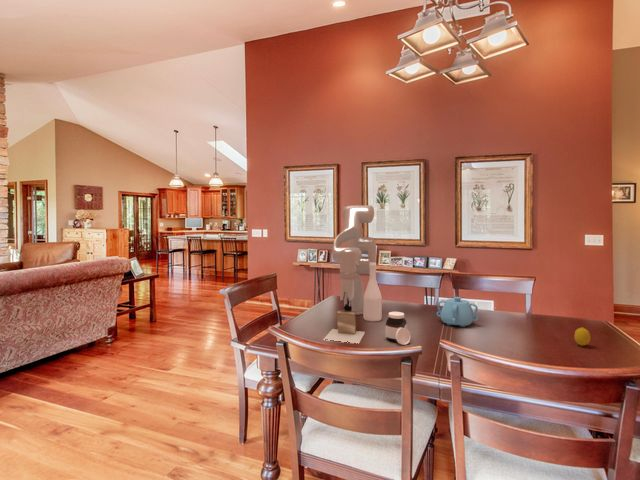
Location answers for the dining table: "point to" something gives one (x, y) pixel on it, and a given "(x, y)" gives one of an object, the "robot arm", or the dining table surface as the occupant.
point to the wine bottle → (372, 298)
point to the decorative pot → (457, 312)
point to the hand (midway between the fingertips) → (347, 314)
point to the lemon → (582, 336)
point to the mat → (344, 336)
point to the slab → (346, 322)
